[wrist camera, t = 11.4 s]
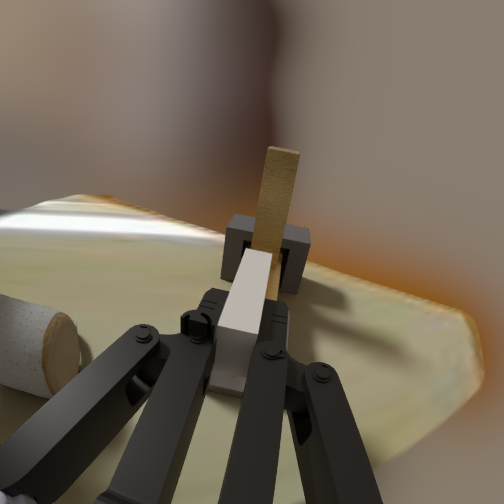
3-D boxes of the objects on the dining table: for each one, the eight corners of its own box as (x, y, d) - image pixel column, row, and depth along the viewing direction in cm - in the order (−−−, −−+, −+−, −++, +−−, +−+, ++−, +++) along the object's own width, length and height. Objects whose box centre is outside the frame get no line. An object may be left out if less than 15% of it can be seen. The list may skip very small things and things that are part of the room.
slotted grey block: (220, 278, 36) (226, 226, 33) (228, 260, 41) (235, 213, 37) (296, 294, 35) (310, 244, 32) (297, 274, 40) (309, 228, 37)
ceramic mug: (73, 419, 15) (36, 354, 12) (-2, 397, 13) (-44, 332, 10) (96, 330, 24) (83, 264, 21) (32, 321, 22) (13, 258, 19)
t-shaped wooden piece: (226, 328, 26) (252, 154, 19) (248, 261, 38) (269, 142, 31) (267, 337, 26) (308, 165, 18) (277, 267, 38) (302, 149, 31)
